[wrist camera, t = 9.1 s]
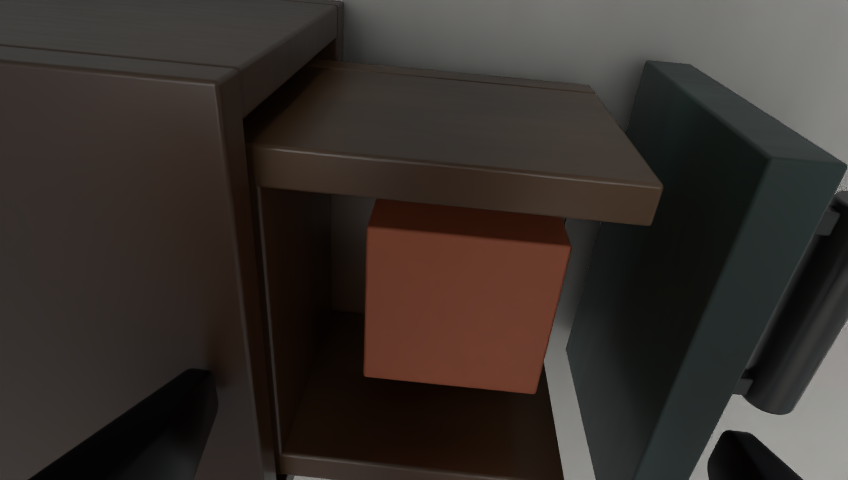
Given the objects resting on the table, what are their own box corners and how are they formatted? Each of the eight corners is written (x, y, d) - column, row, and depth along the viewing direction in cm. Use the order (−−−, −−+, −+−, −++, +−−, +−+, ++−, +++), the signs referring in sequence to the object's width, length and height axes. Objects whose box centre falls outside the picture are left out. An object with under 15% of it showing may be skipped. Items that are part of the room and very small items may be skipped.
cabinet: (343, 1, 15) (217, 81, 7) (342, 322, 20) (271, 551, 13) (-58, -37, 15) (-572, 4, 8) (51, 291, 21) (-182, 498, 13)
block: (546, 166, 15) (573, 246, 11) (521, 293, 17) (535, 395, 13) (390, 151, 15) (365, 226, 11) (385, 279, 17) (362, 377, 13)
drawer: (852, 79, 14) (1129, 192, 8) (716, 365, 19) (827, 562, 13) (308, 27, 14) (197, 100, 8) (316, 322, 19) (250, 497, 13)
